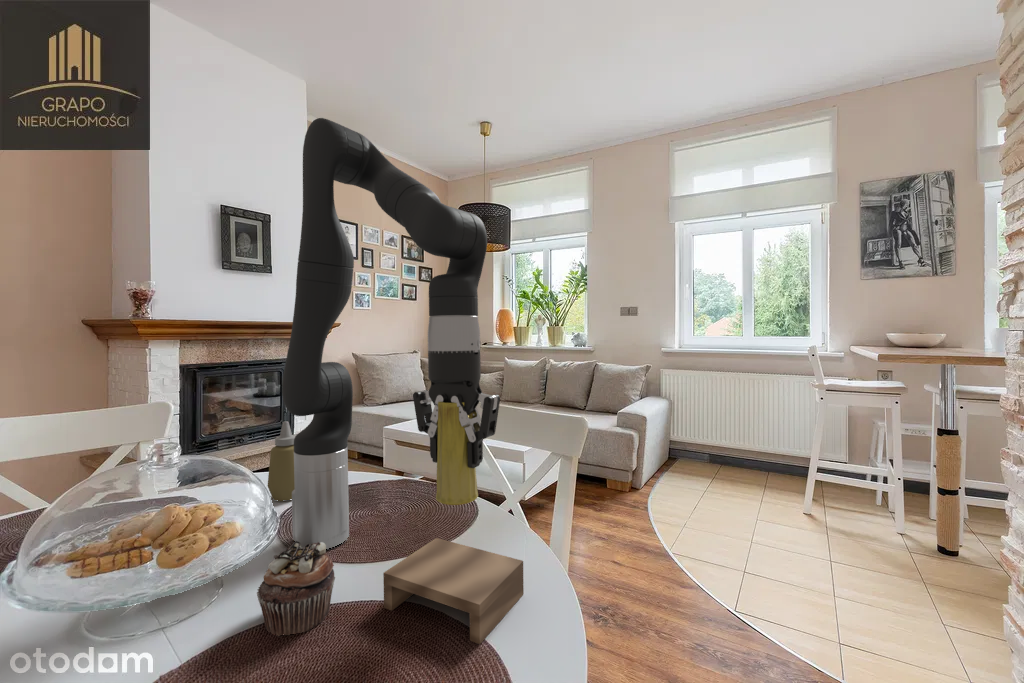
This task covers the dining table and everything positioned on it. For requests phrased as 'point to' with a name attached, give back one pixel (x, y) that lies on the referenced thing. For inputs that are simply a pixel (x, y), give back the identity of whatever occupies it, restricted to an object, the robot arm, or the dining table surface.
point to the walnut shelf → (458, 582)
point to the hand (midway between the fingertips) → (456, 463)
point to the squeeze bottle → (282, 465)
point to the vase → (453, 459)
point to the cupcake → (297, 589)
